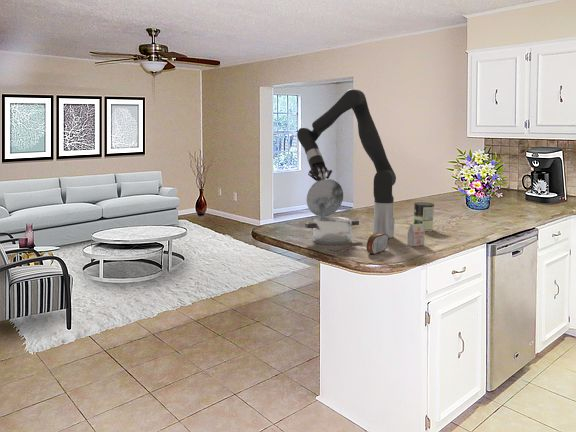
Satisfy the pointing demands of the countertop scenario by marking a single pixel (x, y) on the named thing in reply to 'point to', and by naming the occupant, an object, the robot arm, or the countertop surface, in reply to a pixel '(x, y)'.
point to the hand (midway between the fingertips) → (325, 186)
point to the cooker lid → (324, 197)
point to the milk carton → (416, 235)
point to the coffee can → (424, 215)
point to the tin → (377, 243)
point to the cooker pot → (332, 230)
